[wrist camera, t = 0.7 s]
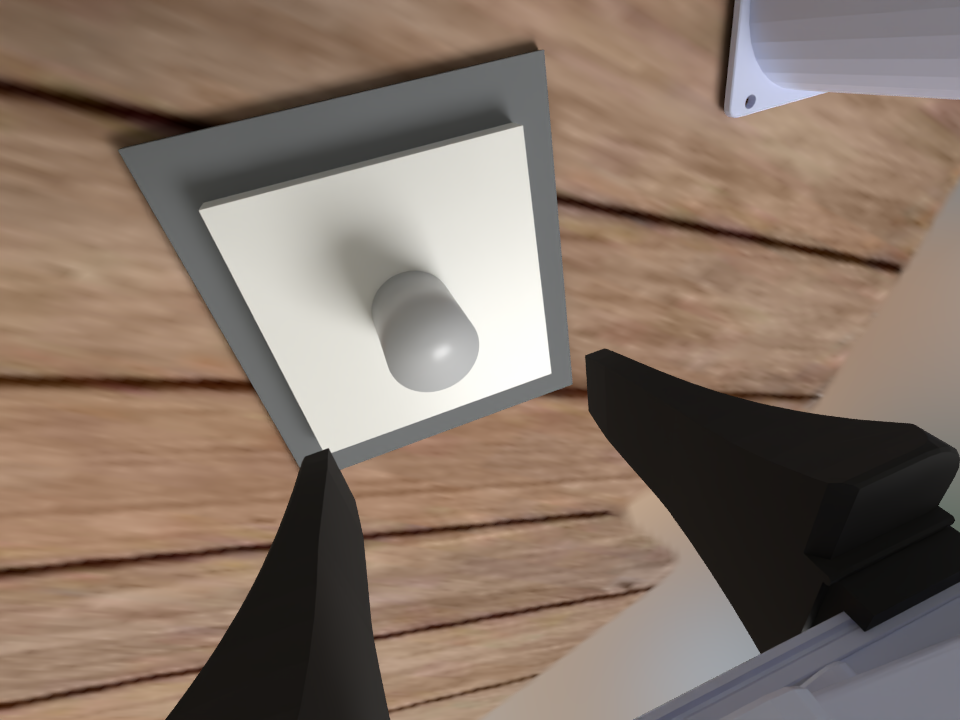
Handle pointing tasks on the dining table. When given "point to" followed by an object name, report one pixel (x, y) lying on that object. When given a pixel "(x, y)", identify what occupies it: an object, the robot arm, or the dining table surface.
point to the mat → (336, 143)
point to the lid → (394, 281)
